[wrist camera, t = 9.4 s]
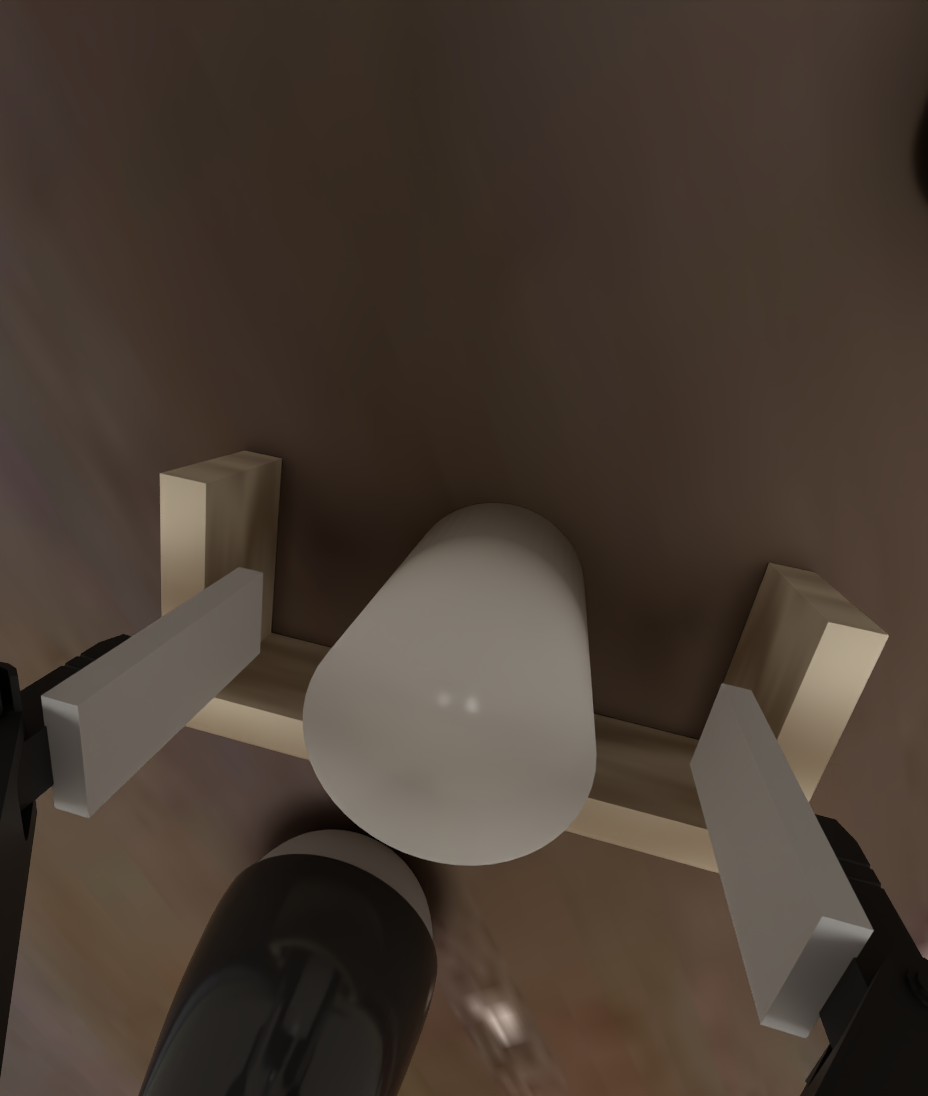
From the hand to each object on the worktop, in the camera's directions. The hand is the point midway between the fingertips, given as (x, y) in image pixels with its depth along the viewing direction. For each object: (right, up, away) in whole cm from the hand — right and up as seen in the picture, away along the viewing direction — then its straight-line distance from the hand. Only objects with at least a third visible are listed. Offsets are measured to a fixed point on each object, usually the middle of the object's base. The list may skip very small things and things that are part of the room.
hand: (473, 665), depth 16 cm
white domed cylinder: (+1, +2, +7) cm, 7 cm away
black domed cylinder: (-6, -13, +13) cm, 19 cm away
